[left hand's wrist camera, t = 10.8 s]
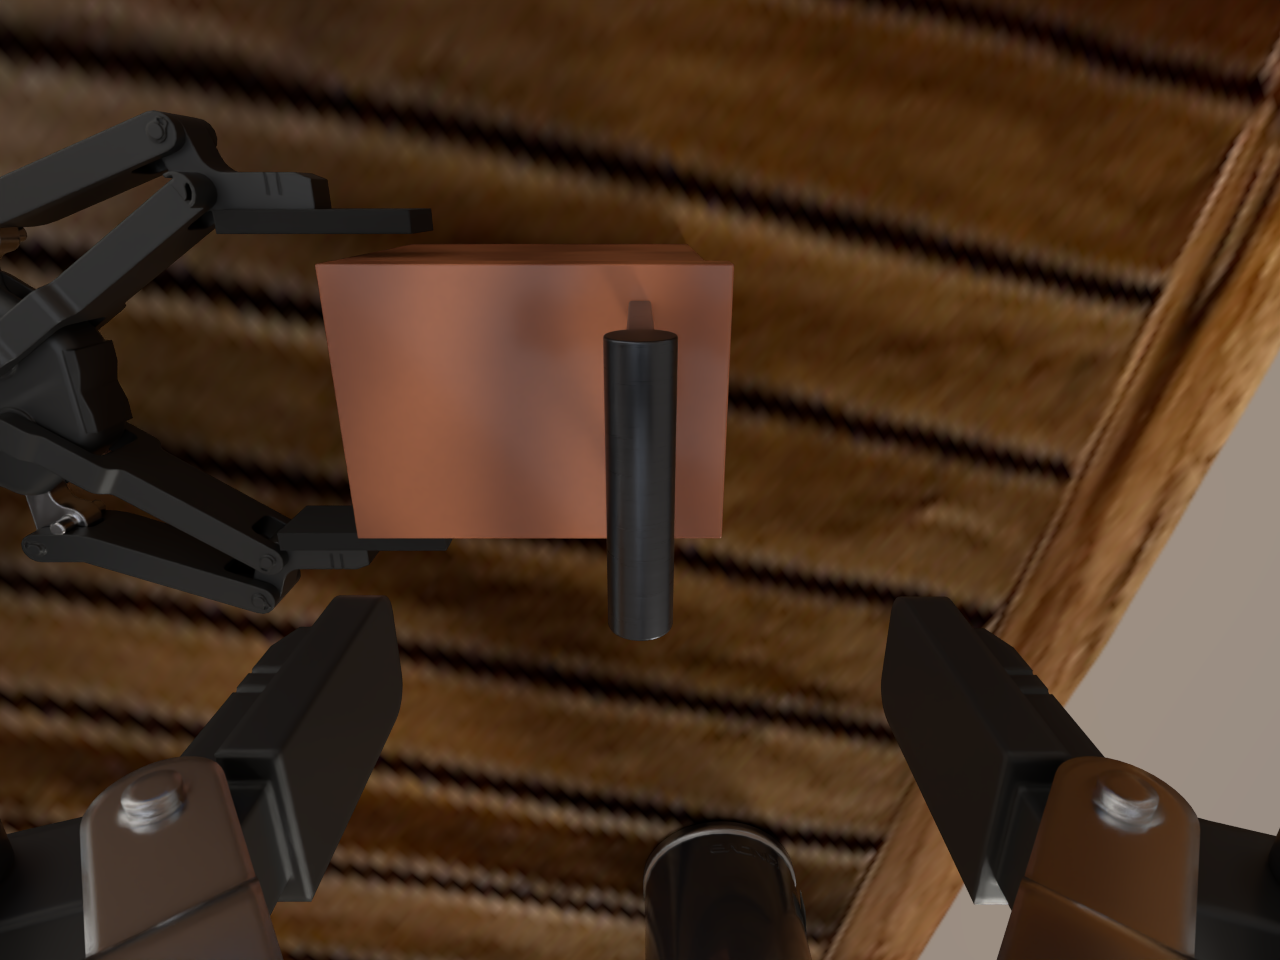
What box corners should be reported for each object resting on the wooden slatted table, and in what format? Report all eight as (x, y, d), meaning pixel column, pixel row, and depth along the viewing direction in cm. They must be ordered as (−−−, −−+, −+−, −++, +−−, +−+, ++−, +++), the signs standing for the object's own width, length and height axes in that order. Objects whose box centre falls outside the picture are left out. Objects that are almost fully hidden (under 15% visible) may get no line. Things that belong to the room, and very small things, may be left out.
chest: (688, 244, 32) (706, 260, 24) (684, 446, 35) (697, 523, 27) (411, 243, 32) (331, 260, 24) (433, 446, 35) (370, 523, 27)
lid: (729, 260, 24) (780, 296, 15) (718, 523, 27) (754, 673, 18) (330, 260, 24) (157, 296, 15) (369, 523, 27) (246, 673, 18)
